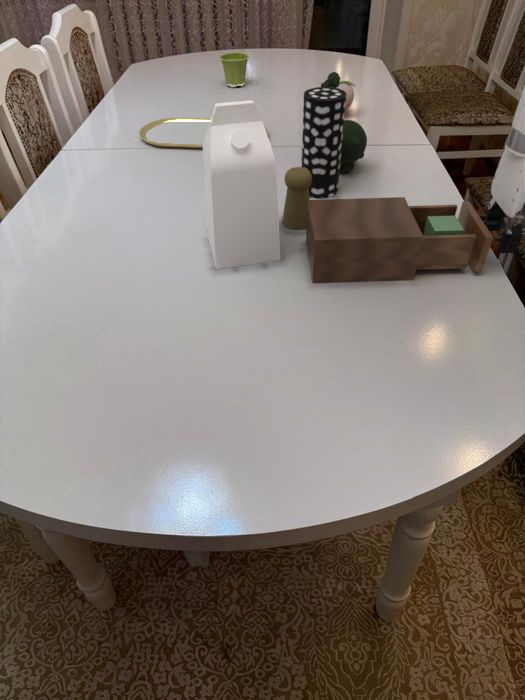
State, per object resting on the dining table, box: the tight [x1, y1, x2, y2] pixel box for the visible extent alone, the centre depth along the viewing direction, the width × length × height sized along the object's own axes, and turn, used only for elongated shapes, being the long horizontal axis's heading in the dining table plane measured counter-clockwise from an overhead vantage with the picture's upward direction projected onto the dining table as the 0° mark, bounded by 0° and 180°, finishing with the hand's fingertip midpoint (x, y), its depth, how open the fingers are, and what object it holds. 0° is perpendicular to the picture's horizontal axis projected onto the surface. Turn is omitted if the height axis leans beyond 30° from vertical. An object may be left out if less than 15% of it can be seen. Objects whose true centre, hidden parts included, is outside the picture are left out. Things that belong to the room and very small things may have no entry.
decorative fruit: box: [337, 80, 356, 112], centre depth 141 cm, size 9×8×10 cm
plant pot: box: [219, 52, 250, 89], centre depth 164 cm, size 9×9×9 cm
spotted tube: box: [300, 86, 346, 199], centre depth 104 cm, size 8×8×20 cm
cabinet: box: [305, 196, 423, 284], centre depth 88 cm, size 18×14×9 cm
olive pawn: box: [281, 166, 312, 231], centre depth 97 cm, size 6×6×11 cm
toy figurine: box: [320, 71, 368, 174], centre depth 116 cm, size 9×19×25 cm
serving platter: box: [138, 116, 269, 149], centre depth 134 cm, size 19×35×2 cm, turn 82°
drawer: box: [408, 200, 508, 273], centre depth 88 cm, size 23×12×7 cm, turn 91°
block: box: [423, 215, 464, 236], centre depth 88 cm, size 5×5×5 cm
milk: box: [202, 99, 281, 270], centre depth 86 cm, size 12×12×26 cm
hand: (498, 240), depth 89 cm, fingers closed on drawer, 6 cm apart
